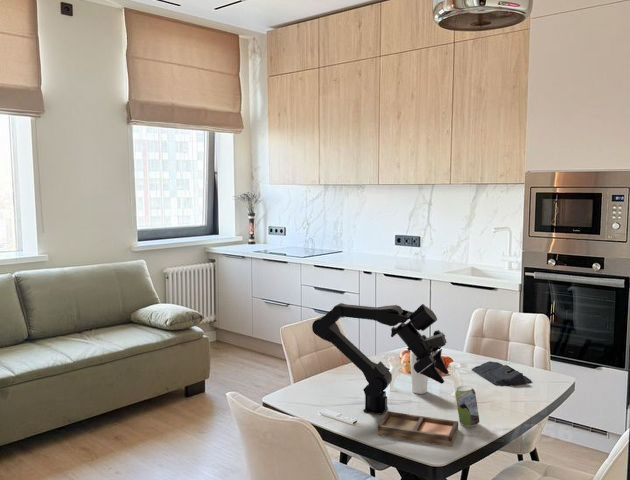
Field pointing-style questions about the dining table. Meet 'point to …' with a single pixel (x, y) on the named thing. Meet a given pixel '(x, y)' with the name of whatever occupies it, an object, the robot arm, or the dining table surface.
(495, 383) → the dark slate chunk
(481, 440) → the dining table surface
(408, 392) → the dining table surface
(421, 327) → the robot arm
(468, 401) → the beverage can
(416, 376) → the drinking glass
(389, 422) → the divided wooden tray
